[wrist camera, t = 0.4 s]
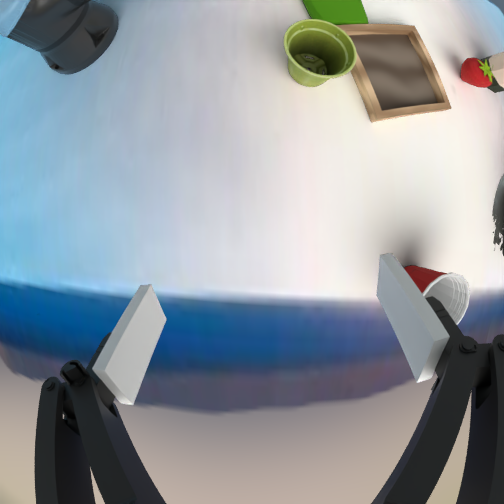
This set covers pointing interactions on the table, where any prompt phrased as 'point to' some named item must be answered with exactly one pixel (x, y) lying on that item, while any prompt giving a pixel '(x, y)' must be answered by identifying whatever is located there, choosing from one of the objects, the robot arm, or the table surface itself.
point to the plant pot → (318, 51)
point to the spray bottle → (337, 11)
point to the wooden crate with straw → (499, 213)
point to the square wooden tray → (394, 71)
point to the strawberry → (476, 72)
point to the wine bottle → (496, 71)
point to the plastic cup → (442, 289)
